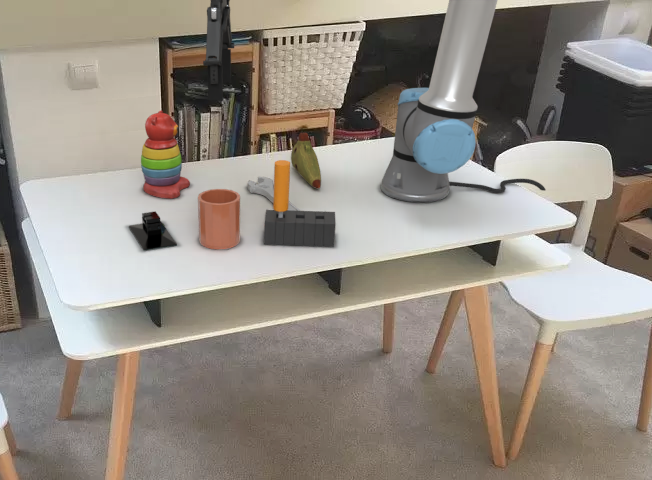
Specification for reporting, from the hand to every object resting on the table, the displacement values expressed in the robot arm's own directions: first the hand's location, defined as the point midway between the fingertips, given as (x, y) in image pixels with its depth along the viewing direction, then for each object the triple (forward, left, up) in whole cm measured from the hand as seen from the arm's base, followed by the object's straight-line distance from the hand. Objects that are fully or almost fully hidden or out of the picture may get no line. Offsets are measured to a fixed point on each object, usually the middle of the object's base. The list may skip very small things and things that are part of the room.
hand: (220, 91), depth 151 cm
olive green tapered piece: (-18, -24, -27) cm, 40 cm away
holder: (-17, +11, -27) cm, 33 cm away
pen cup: (-1, +13, -27) cm, 29 cm away
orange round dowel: (-13, +11, -27) cm, 31 cm away
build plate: (+13, +12, -27) cm, 32 cm away
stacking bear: (+15, -14, -27) cm, 34 cm away
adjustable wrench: (-11, -8, -27) cm, 30 cm away
